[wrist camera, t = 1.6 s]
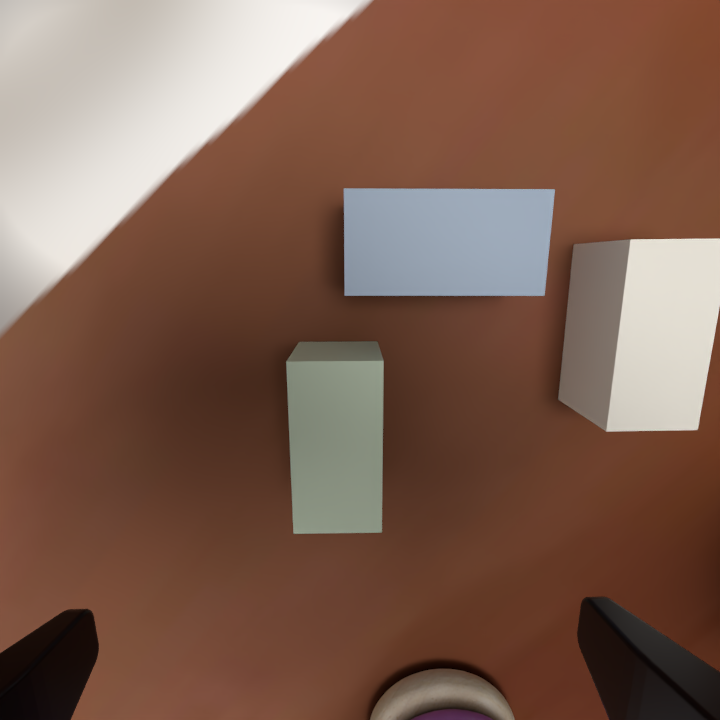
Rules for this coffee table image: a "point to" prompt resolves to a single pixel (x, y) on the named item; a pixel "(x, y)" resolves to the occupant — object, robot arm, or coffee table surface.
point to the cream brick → (640, 332)
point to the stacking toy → (442, 698)
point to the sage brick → (336, 436)
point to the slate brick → (446, 242)
